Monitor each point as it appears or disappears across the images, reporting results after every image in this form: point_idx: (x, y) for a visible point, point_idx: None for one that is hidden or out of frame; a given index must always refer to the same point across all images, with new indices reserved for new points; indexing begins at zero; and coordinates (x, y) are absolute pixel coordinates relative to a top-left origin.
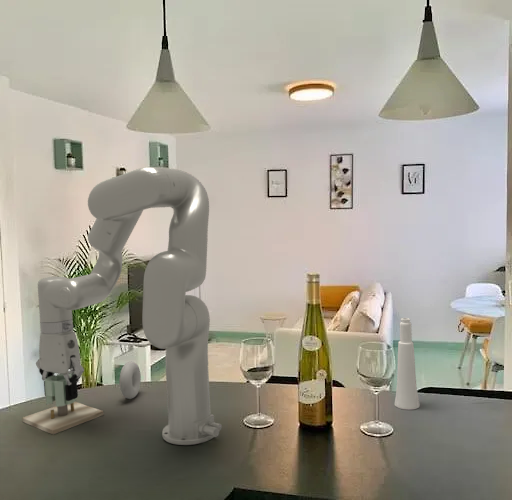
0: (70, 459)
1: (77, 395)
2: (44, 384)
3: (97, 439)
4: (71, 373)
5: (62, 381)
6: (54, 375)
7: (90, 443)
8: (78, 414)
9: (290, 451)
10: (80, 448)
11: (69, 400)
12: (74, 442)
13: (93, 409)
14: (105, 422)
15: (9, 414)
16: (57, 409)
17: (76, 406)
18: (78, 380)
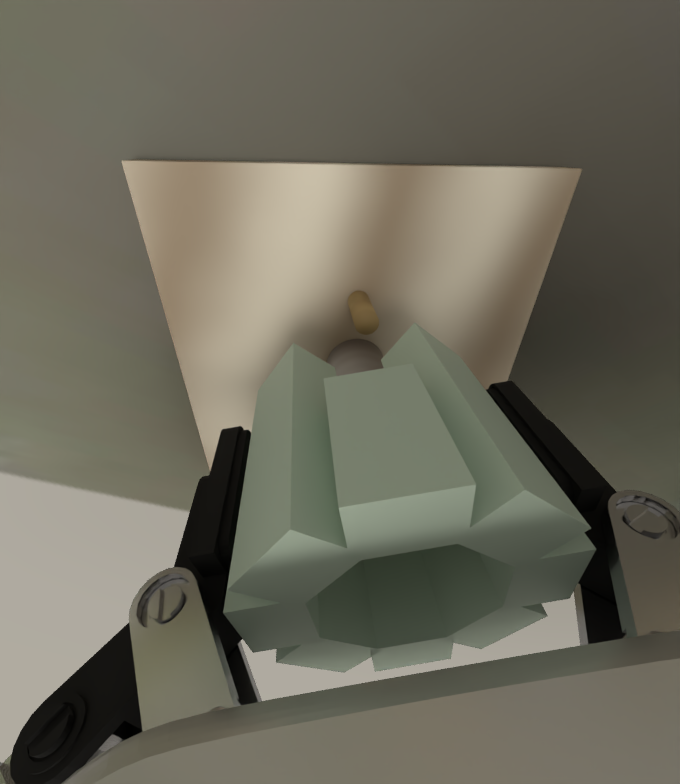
0: (657, 494)
1: (516, 388)
2: None
3: None
4: (634, 633)
5: (533, 615)
6: (247, 611)
7: (673, 418)
8: (447, 314)
9: None
10: (653, 452)
11: None
12: (602, 443)
13: (482, 194)
14: (641, 248)
15: (60, 470)
16: None
17: (304, 232)
18: (672, 510)
